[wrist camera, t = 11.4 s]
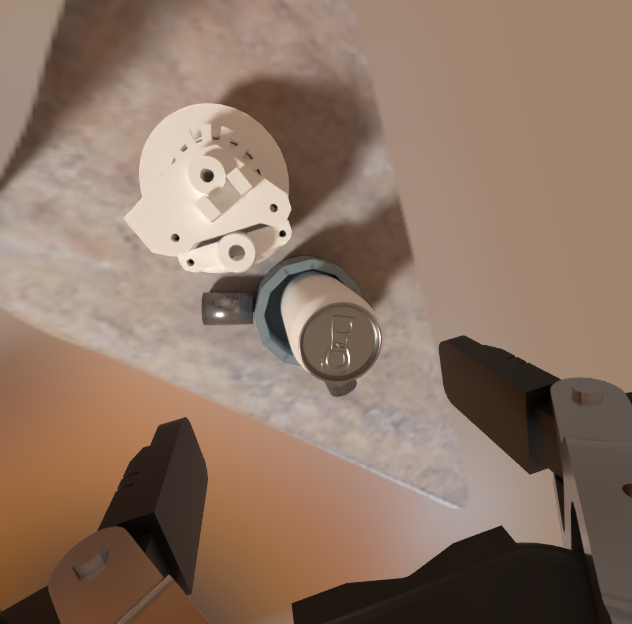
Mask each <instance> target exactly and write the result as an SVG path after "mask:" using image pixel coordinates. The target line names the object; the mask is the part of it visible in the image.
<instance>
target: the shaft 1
mask: <svg viewBox="0 0 632 624" xmlns="http://www.w3.org/2000/svg"><path fill="white" fill-rule="evenodd" d="M202 319H203V324H204V325H236V324H253V292H207V293H203V296H202Z"/></svg>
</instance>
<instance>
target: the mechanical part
mask: <svg viewBox="0 0 632 624" xmlns="http://www.w3.org/2000/svg"><path fill="white" fill-rule="evenodd" d="M212 179H213V180H212ZM139 180H140V189H141V193H142V196H143V197H142V198H141V199H140V201H139V202H138V203H137V204H136V205H135V206H134V207H133V208H132V209H131V211H130V212H129V213H128V214H127V215H126V216H125V217H124V218H123V219H124V220H125V221H126V223H127V224H128V225H129V226H130V227H131V228H132V230H133V231H134V232H135V233H136V234H137V235H138V237H139V238H140V239H141V240H142V241H143V242H144V243H145V245H146V246H147V247H148V248H149V249H150V250H151V252H152V253H156V254H162V255H167V256H172V257H174V256H177V257H178V259H179V262H180V264H181V266H182V267H183V268H184V269H185V270H187V271H191V272H194V273H196V272H199V271H203V272H208V273H226V272H235V273H240V272H244V271H247V270H248V269H250V268H251V267H252V266H253V265H254V263H255V262H256V263H257V264H258V263H260V262H262V261H264V260H266V259H267V258H269V257H270V256H271V255H273V254H274V253H275V252H276V251H277V250H278V249H279V248H280V247H281V246H282V245H285V244H286V243H287V242H288V240H289V239H290V238H291V227H290V224H289V221H288V220H287V218H288V216H289V214H290V211H291V206H290V203H289V199H288V196H289V177H288V171H287V166H286V163H285V160H284V158H283V155H282V152H281V150H280V148H279V147H278V145H277V143H276V142H275V140H274V139H273V137H272V136H271V135H270V133H269V132H268V131H267V130H266V129H265V128H264V127H263V126H262V125H261V124H260V123H259V122H257V121H256V120H255V119H253V118H252V117H251V116H249V115H248V114H246V113H244V112H242V111H240V110H237V109H235V108H232V107H229V106H225V105H221V104H209V103H202V104H196V105H190V106H187V107H184V108H182V109H179V110H177V111H175V112H173V113H172V114H170V115H169V116H167V117H166V118H165V119H163V120H162V121H161V122H160V123H159V124H158V125H157V127H156V128H155V129H154V130H153V131H152V133H151V134H150V136H149V138H148V140H147V141H146V143H145V145H144V149H143V152H142V155H141V159H140V168H139ZM211 180H212V181H211Z"/></svg>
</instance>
